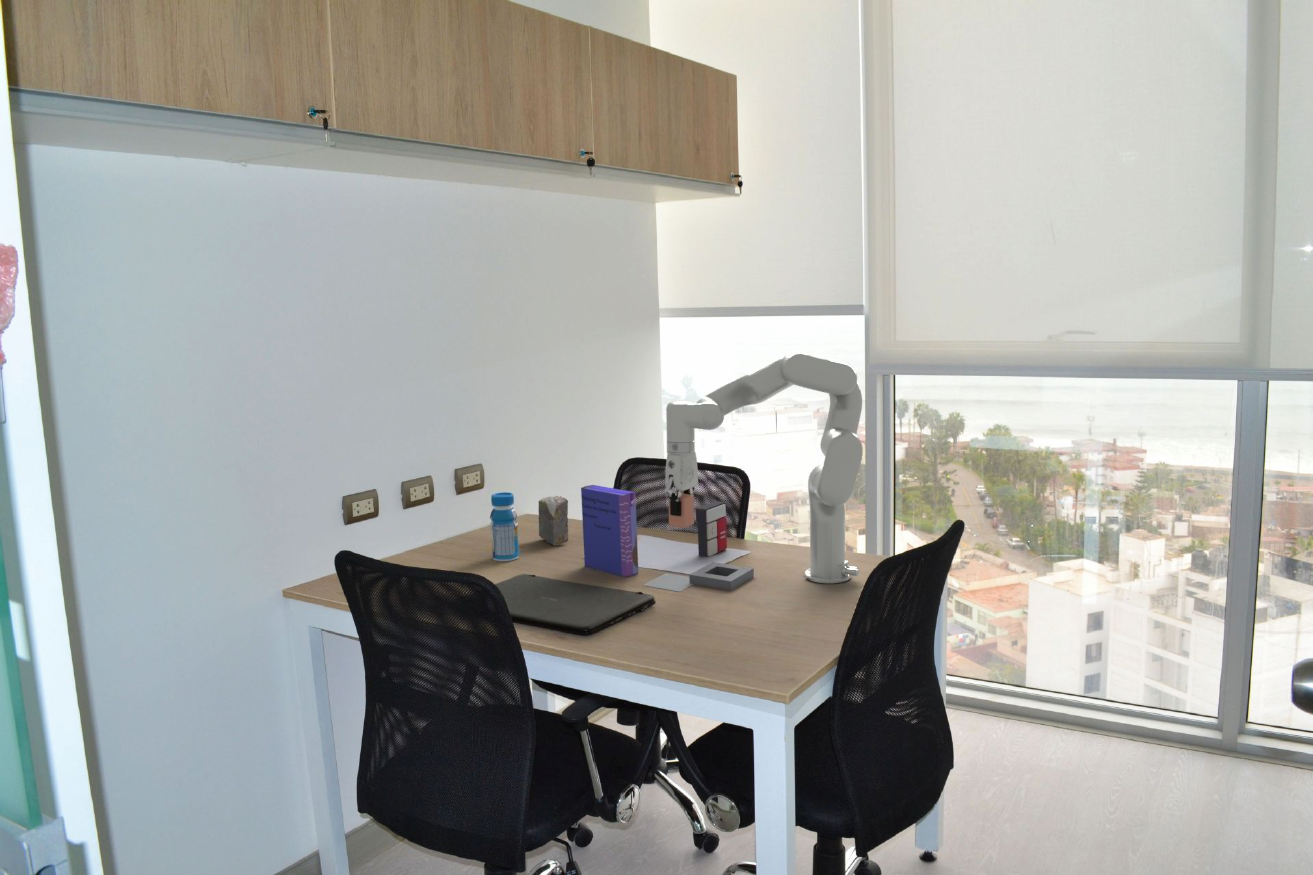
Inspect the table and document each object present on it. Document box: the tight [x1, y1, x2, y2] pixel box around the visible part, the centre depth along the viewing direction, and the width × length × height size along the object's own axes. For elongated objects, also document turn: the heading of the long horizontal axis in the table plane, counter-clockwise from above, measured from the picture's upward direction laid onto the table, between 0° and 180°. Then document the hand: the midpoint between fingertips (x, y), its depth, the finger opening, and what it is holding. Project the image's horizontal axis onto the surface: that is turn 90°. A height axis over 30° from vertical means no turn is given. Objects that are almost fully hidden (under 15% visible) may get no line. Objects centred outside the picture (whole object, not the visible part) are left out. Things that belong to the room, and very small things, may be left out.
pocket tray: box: [688, 561, 755, 591], centre depth 269 cm, size 13×13×3 cm
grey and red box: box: [695, 500, 728, 558], centre depth 296 cm, size 11×4×15 cm, turn 143°
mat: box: [642, 572, 695, 593], centre depth 269 cm, size 12×12×1 cm
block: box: [668, 493, 695, 529], centre depth 265 cm, size 5×5×8 cm
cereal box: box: [580, 484, 639, 578], centre depth 281 cm, size 17×5×24 cm, turn 47°
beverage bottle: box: [489, 492, 520, 562], centre depth 297 cm, size 8×8×20 cm
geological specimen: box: [538, 495, 569, 546], centre depth 314 cm, size 11×6×15 cm, turn 33°
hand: (681, 512), depth 265 cm, fingers closed on block, 5 cm apart
